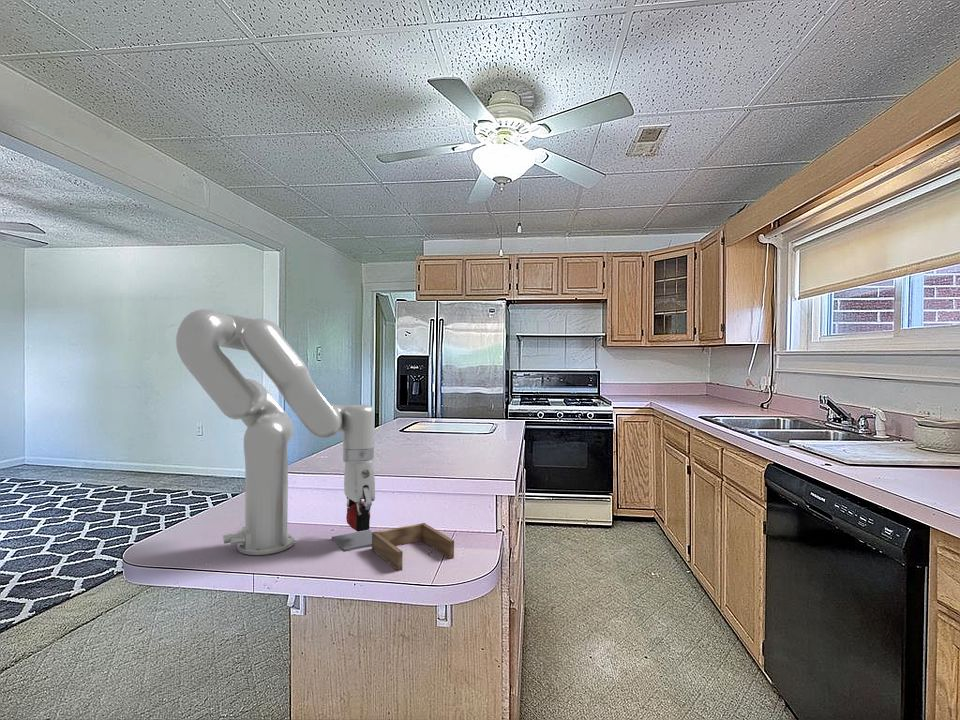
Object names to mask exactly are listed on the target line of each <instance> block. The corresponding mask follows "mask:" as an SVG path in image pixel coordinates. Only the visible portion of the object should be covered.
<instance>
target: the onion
mask: <svg viewBox="0 0 960 720" xmlns="http://www.w3.org/2000/svg"><path fill="white" fill-rule="evenodd" d="M361 501H363V499H360V502H361ZM362 506H364V504H361V508H362ZM356 515H358V511H357V503H355V504H353V505H352V506H351V507H350V508H349V510H348V512H347V511H346V517H345V518H346V519H345V520H346V523H347V524H348V526H350V528H351V529H352V530H355V531H356Z"/></svg>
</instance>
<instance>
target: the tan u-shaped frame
mask: <svg viewBox="0 0 960 720" xmlns="http://www.w3.org/2000/svg"><path fill="white" fill-rule="evenodd" d="M371 532H372V546H371V550H372V551H374V553H376V554H377V553H378V554H379V555H378V554H377V555H378V556H379V557H381V558H382V557H383V558H384V559H385V560H384V559H383V558H382V559H383V560H384V561H385V562H387V563H388V562H389V563H390V564H391V567H393V568H394V569H395V570H396V571H397V572H400V571H403V559H404V558H403V554H404V553H403V550H401V549H400V548H399V547H398V546H401V545H402V544H403V545H406V544H411V543H417V542H420V541H421V542H423V543H424V542H426V543H425V544H427V545H428V544H429V546H430V547H432V548H433V547H434V548H433V549H435V550H436V551H437V552H439V551H440V552H439V553H441V554H442V555H443V556H446V558H448V557H449V558H448V559H454V558H455V540H454V539H452V538H451V537H448V535H446V534H444V533H442V532H440V531H438V530H437V529H436V528H434V527H432V526H431V525H428V524H427V523H425V522H422V523H416V524H411V525H406V526H400V527H395V528H389V529H384V530H383V529H382V530H378V531H371ZM422 540H423V541H422ZM397 545H398V546H397ZM389 563H388V564H389ZM390 564H389V565H390Z"/></svg>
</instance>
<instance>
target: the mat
mask: <svg viewBox="0 0 960 720" xmlns="http://www.w3.org/2000/svg"><path fill="white" fill-rule="evenodd" d="M372 532H373V531H371V530H370V529H369V530H364V531H359V532H358V531H356V532H352V533H351V532H350V533H345V534H339V535H338V534H337V535H334V536H331V540H332V541H334V543H335V544H336V545H337V546H338V547H339V548H341V549H342V550H343V551H344V552H348V551H349V552H350V551H352V550H353V551H354V550H358V549H362V548H368V547H372Z"/></svg>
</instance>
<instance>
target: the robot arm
mask: <svg viewBox="0 0 960 720" xmlns="http://www.w3.org/2000/svg"><path fill="white" fill-rule="evenodd" d="M175 344H176V350H177V354H178V355H179V358H180V360H181V362H182V364H183V365H184V367H185V368H186V369H187V370H188V372H189V373H190V374H191V375H192V376H193V378H195V380H196V382H198V384H199V385H200V386H201V387H202V389H203V391H205V392H206V394H207V395H208V396H209V397H210V398H211V400H212V401H213V402H214V404H215V405H216V406H217V407H218V409H219V411H221V413H222V414H223V415H224V416H226V417H227V418H229V419H232V420H241V421H242V422H243V424H244V425H245V426H246V430H245V432H244V435H243V453H244V466H245V470H244V471H245V472H244V474H245V476H244V477H245V479H244V480H245V481H244V482H245V484H244V485H245V493H244V496H245V498H244V500H245V504H244V506H245V507H244V509H245V510H244V513H245V514H244V516H245V517H244V518H245V519H244V527H241V531H237V533H234V534H233V533H230V534H224V535H222V542H223V543H222V544H230V546H234V545H237V551H238V550H239V551H240V553H241V554H244V555H250V556H264V555H271V554H276V553H280V552H282V551H286V550H288V549H289V548H291V547H292V546H294V544H295V538H294V536H293V535H292V534H289V533H288V521H289V520H288V519H289V518H288V517H289V516H288V515H289V514H288V510H289V509H288V505H289V504H288V501H289V497H288V496H289V492H288V491H289V477H288V476H289V468H288V467H289V465H288V464H289V463H288V461H289V460H288V443H289V442H290V441H291V440H292V437H293V435H294V424H293V422H292V420H291V418H290V417H289V415H288V414H287V413H286V411H285V410H284V409H283V408H282V407H281V405H280V404H279V403H278V402H277V400H275V398H274V397H273V396H272V394H271V393H270V392H269V391H268V390H267V388H266V387H264V386H263V385H262V383H260V382H259V381H256V380H255V379H251V378H245V376H244V375H243V374H242V373H241V372H240V371H239V370H238V369H237V368H236V366H235V365H234V363H233V362H232V360H230V358H229V357H228V356H226V355H225V354H224V352H223V351H222V350H221V348H228V349H233V350H239V351H245V352H248V354H249V355H250V356H251V357H252V358H253V360H254V361H255V362H256V363H257V364H258V365H259V367H260V368H261V369H262V370H263V372H264V373H265V374H266V376H268V378H269V379H270V380H271V381H272V383H273V384H274V386H275V387H276V389H277V390H278V392H279V393H280V395H281V396H282V397H283V399H284V401H285V402H286V403H287V405H288V406H289V407H290V409H291V410H292V412H293V413H294V415H295V416H296V417H297V418H298V419H299V420H300V422H301V423H302V424H303V426H304V427H305V428H306V429H307V431H309V432H310V434H312V435H313V436H314V437H317V438H318V439H325V440H326V439H330V438H333V437H334V436H335V435H337V434H338V433H341V432H342V461H343V462H344V464H345V465H344V477H343V479H344V480H343V481H344V482H343V483H344V484H343V490H344V495H345V496H346V500H347V501H346V509H347V510H346V513H347V512H348V510H349V508H350V507H351V506H352V505H353V504H355V503H357V511H358V515H356V530H355V531H356V532H361V531H366V530H370V521H371V520H370V519H371V507H372V505H373V502H374V501H375V500H376V482H375V481H376V478H375V477H376V476H375V467H374V459H375V454H374V453H375V410H374V407H372V406H371V405H368V404H352V405H341V404H333V403H330V402H329V401H328V400H327V399H326V397H325V396H324V395H323V393H321V391H320V390H319V388H318V387H317V386H316V384H315V383H314V381H313V379H312V377H311V374H310V371H309V368H308V367H307V365H306V363H305V362H304V361H303V359H301V357H300V356H299V354H297V353H296V351H295V350H294V348H293V347H292V345H290V344H289V343H288V341H287V340H286V338H285V337H284V335H283V331H282V329H281V328H280V326H278V324H276V323H275V322H274V321H271V320H268V319H265V318H250V317H244V316H238V315H235V314H229V313H224V312H219V311H216V310H212V309H206V308H204V309H202V308H201V309H197V310H194V311H191V312H190V313H188V314H187V315H186V316H184V318H183V320H182V321H181V323H180V324H179V327H178V328H177V332H176V338H175ZM360 499H361V500H362V501H361V502H360ZM361 504H364V506H362V508H361ZM239 551H238V552H239Z"/></svg>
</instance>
